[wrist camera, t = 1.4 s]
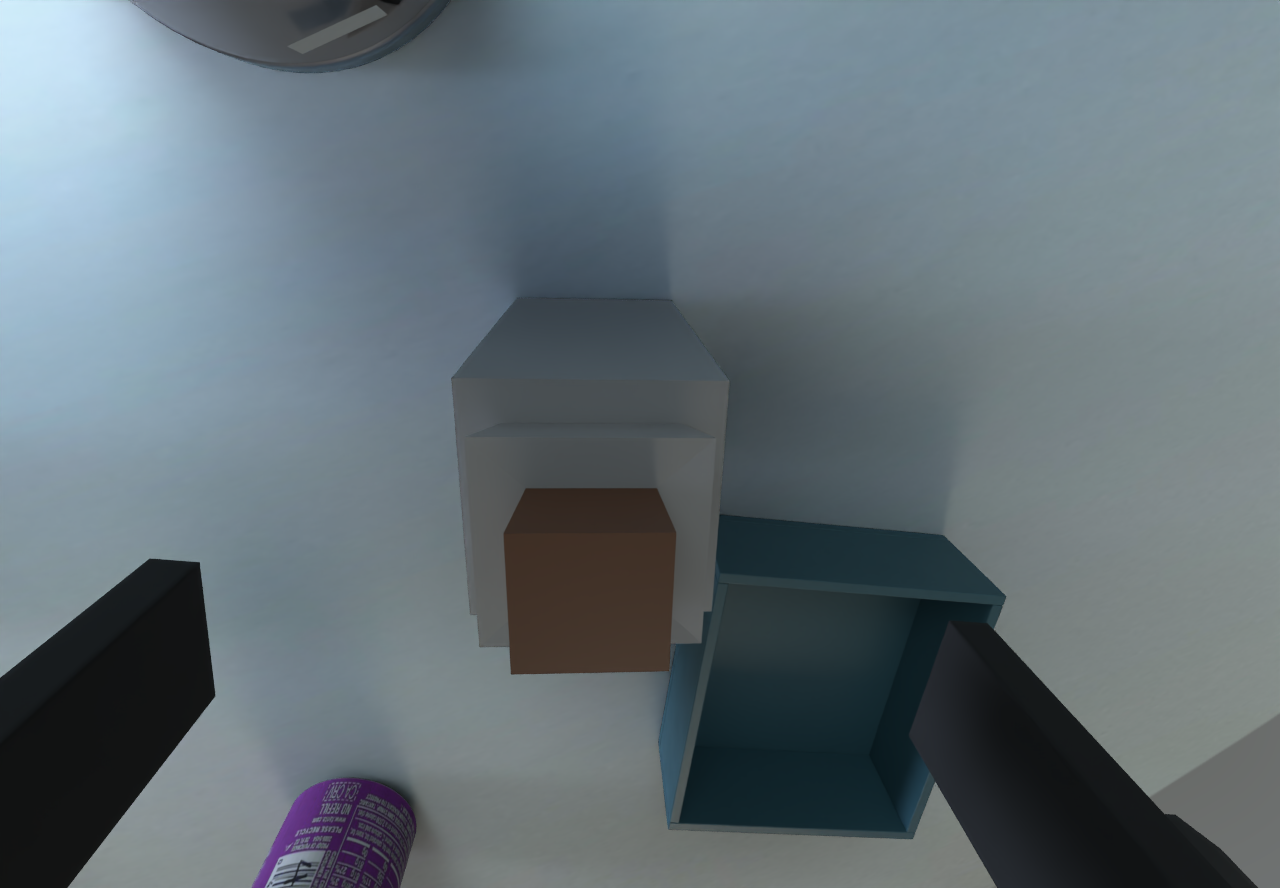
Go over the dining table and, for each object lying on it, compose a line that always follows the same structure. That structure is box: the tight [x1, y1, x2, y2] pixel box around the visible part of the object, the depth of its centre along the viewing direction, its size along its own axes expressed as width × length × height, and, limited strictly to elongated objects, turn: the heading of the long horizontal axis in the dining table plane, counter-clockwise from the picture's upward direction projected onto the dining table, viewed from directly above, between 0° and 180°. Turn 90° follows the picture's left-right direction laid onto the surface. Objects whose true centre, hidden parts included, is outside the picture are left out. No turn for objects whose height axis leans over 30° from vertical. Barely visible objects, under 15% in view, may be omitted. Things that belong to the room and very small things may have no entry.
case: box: [658, 515, 1006, 839], centre depth 33 cm, size 15×13×6 cm
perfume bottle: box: [451, 298, 730, 674], centre depth 21 cm, size 7×7×18 cm
